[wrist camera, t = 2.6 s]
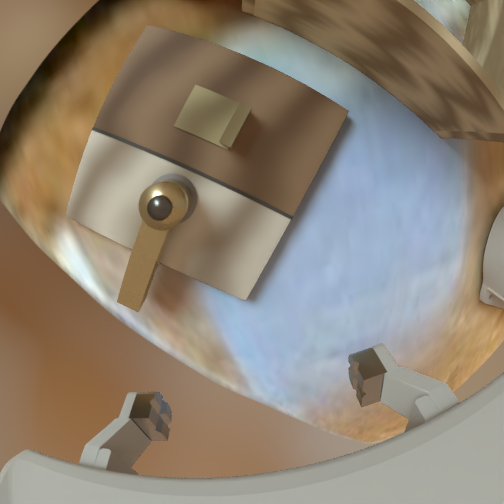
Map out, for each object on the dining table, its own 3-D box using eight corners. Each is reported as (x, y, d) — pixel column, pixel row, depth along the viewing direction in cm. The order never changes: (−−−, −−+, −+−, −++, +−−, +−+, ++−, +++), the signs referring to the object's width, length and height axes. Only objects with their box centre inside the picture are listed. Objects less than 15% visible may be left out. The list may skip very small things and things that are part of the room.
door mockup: (344, 112, 22) (357, 108, 19) (245, 294, 27) (246, 310, 25) (151, 29, 18) (141, 17, 15) (71, 213, 23) (55, 220, 21)
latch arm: (160, 172, 21) (146, 175, 18) (198, 189, 22) (191, 195, 18) (119, 286, 24) (105, 305, 21) (152, 302, 25) (141, 322, 22)
